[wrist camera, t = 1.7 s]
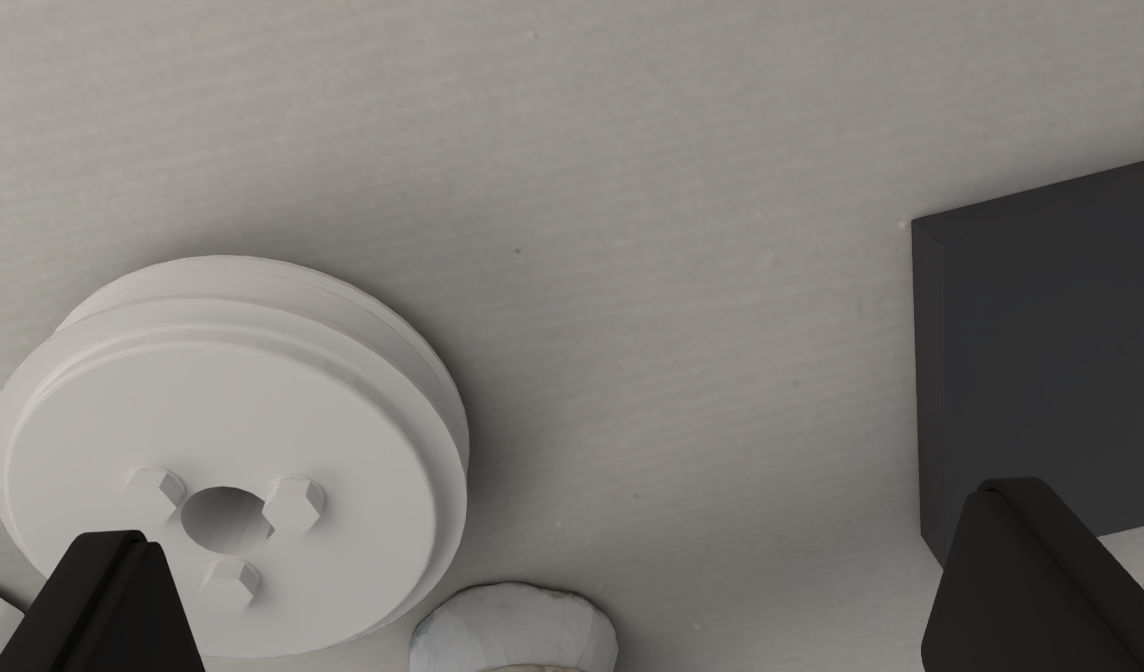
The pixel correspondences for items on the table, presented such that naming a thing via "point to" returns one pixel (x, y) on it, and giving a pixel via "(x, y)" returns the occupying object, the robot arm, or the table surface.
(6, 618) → the cup
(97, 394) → the gray bolted wheel hub
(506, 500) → the table surface
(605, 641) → the figurine
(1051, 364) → the scale
